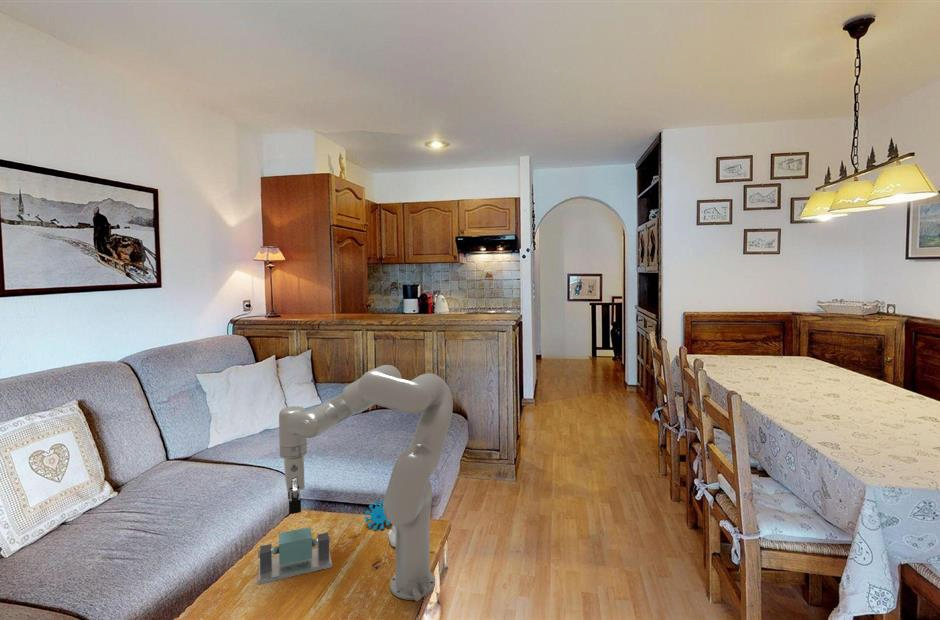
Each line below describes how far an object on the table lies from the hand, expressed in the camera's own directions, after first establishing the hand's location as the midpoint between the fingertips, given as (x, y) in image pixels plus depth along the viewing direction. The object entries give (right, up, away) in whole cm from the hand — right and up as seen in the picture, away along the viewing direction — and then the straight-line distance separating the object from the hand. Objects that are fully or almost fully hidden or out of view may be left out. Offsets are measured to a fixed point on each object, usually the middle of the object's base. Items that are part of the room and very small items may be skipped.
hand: (294, 505), depth 133 cm
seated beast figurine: (+29, -18, +14) cm, 37 cm away
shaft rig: (0, -19, +1) cm, 19 cm away
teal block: (0, -16, +1) cm, 16 cm away
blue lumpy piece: (+21, -18, +24) cm, 36 cm away
